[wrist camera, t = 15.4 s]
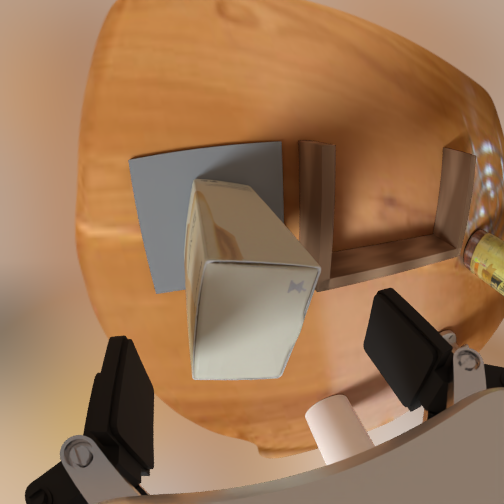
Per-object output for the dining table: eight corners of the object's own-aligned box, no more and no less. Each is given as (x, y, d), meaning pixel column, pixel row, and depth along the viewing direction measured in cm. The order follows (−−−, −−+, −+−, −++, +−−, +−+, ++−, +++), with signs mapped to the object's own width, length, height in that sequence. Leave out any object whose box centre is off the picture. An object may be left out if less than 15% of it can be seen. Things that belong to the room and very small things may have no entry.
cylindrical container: (312, 400, 36) (383, 546, 14) (353, 390, 37) (429, 518, 15) (300, 424, 39) (356, 553, 17) (338, 415, 40) (399, 531, 18)
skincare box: (192, 176, 19) (202, 249, 9) (251, 184, 21) (328, 258, 10) (182, 258, 22) (189, 384, 11) (236, 262, 23) (283, 381, 12)
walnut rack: (448, 148, 23) (476, 155, 20) (436, 241, 28) (459, 255, 25) (298, 140, 20) (321, 145, 17) (299, 267, 25) (317, 292, 22)
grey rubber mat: (279, 141, 20) (281, 141, 20) (282, 270, 25) (284, 273, 25) (129, 159, 18) (128, 160, 18) (156, 291, 23) (156, 293, 23)
